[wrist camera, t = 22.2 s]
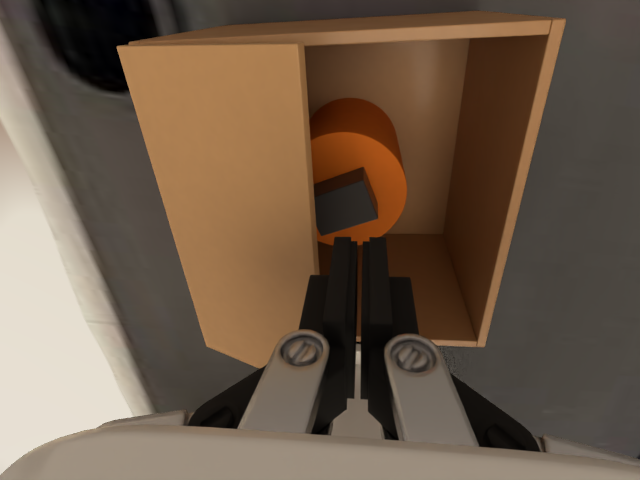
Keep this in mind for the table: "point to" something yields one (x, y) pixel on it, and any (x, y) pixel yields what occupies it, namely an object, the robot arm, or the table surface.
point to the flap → (233, 181)
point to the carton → (434, 139)
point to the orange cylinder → (355, 171)
